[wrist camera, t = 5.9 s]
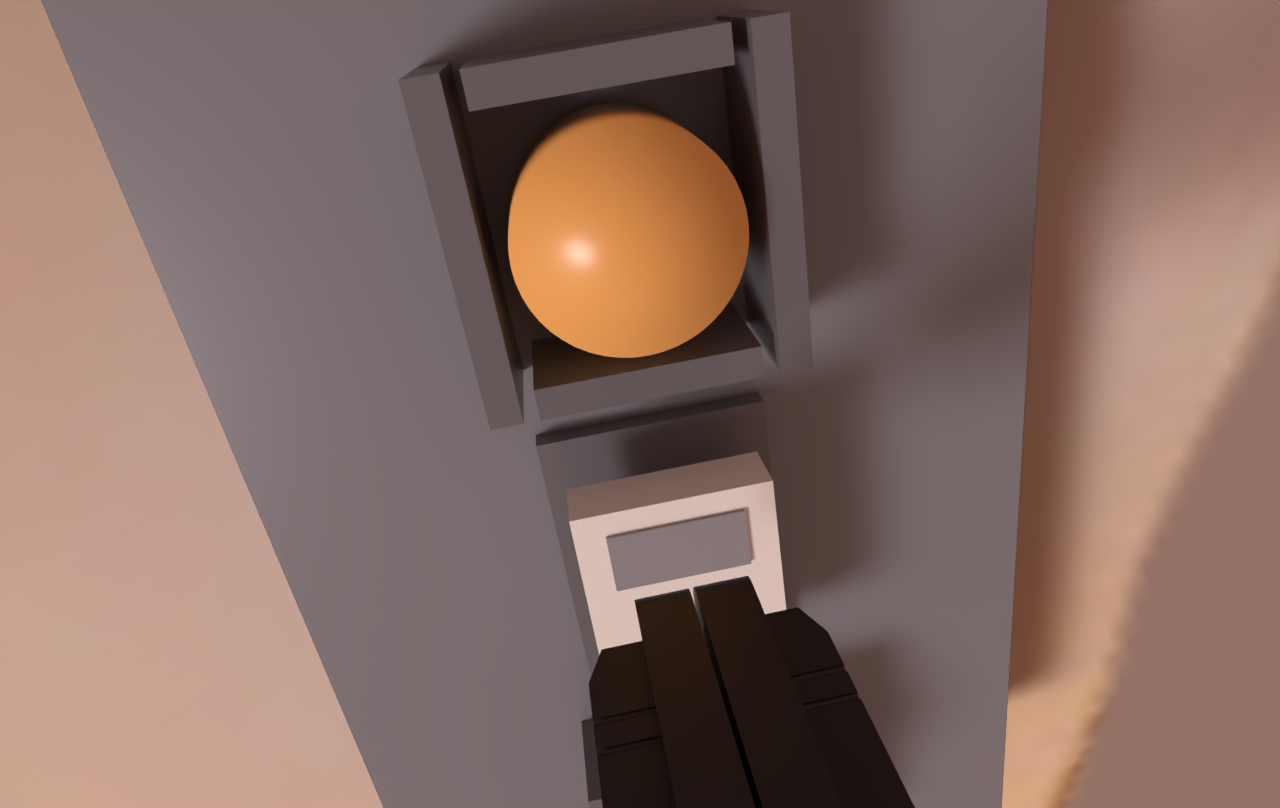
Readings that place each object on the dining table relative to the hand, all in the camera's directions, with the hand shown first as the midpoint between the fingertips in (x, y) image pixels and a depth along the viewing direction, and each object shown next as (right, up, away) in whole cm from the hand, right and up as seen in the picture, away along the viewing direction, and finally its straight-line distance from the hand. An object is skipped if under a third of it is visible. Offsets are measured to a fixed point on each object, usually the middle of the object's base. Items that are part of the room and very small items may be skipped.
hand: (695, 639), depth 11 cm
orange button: (-1, +6, +2) cm, 6 cm away
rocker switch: (0, 0, +4) cm, 4 cm away
